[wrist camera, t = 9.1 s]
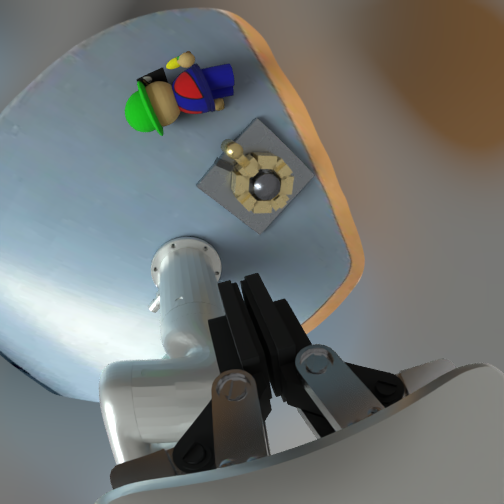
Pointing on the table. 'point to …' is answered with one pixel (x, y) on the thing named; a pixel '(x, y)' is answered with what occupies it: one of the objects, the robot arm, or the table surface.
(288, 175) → the ring nut
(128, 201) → the table surface
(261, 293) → the robot arm
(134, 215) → the table surface
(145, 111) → the toy
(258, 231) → the base plate
